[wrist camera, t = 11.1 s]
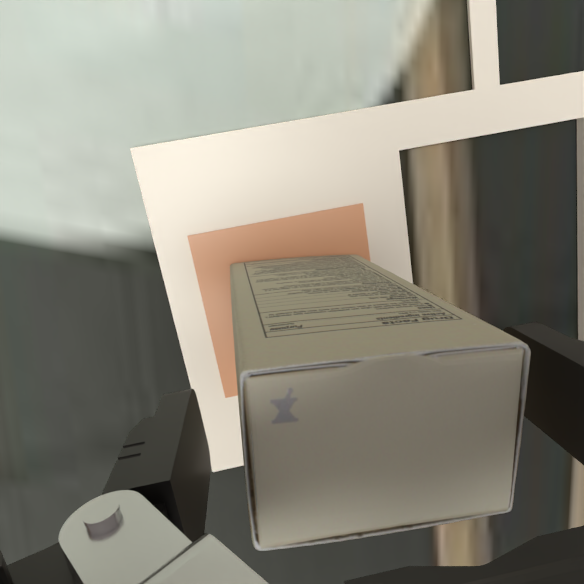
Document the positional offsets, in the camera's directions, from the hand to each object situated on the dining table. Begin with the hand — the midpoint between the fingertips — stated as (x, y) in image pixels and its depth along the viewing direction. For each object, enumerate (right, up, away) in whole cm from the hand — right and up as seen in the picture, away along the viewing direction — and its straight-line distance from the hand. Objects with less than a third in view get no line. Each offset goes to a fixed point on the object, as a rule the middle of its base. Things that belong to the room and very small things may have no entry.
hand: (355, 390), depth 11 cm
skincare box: (-1, +2, +10) cm, 10 cm away
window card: (+3, +5, +10) cm, 12 cm away
